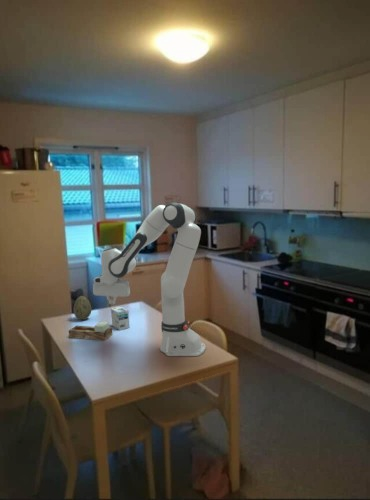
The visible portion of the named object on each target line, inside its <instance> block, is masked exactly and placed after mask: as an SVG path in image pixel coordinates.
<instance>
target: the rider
mask: <svg viewBox="0 0 370 500" xmlns="http://www.w3.org/2000/svg"><path fill="white" fill-rule="evenodd" d="M93 327H94V328H95V332H106V331H107V329H108V328H110V323H109V321H108V322H107V321H100V322H98V323H97V324H96V325H94V326H93Z"/></svg>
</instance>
